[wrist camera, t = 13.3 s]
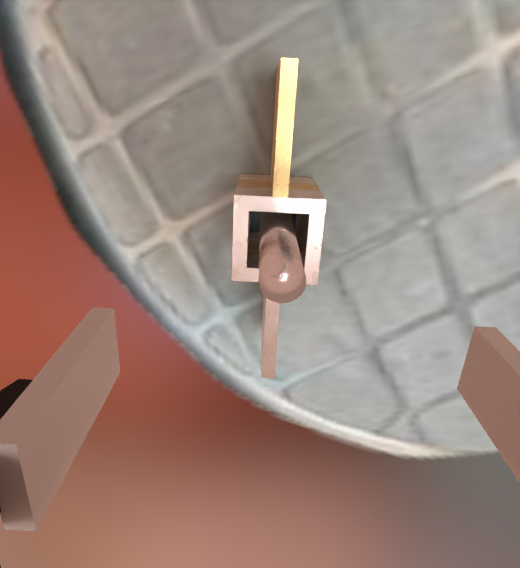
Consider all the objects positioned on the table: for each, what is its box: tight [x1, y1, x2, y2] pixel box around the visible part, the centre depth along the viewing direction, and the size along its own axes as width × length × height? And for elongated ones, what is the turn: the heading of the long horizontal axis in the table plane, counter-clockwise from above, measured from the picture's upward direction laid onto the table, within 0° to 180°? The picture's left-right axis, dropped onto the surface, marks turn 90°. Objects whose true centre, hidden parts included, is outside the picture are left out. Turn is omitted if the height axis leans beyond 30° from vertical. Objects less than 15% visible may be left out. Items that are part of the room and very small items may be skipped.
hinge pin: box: [258, 211, 306, 303], centre depth 30 cm, size 2×2×16 cm
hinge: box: [232, 58, 327, 378], centre depth 33 cm, size 22×6×9 cm, turn 177°
